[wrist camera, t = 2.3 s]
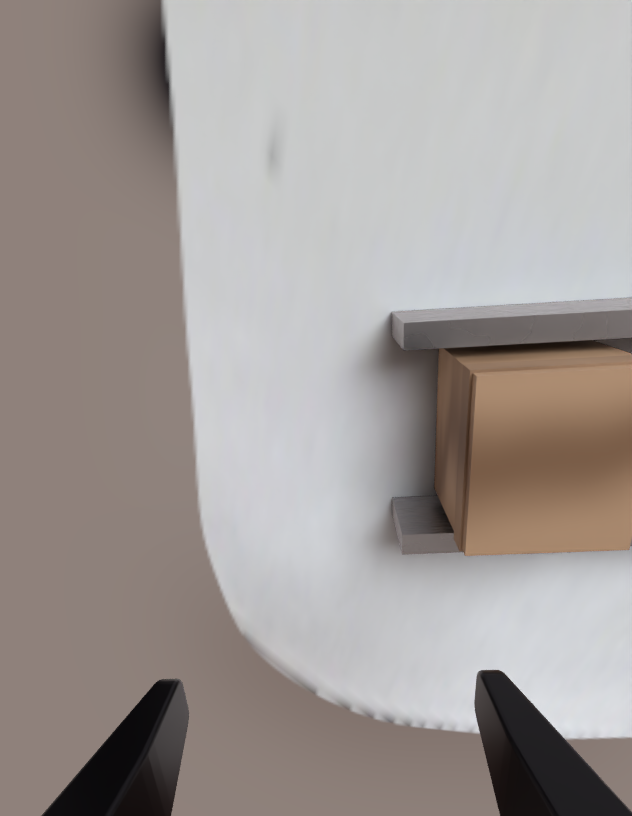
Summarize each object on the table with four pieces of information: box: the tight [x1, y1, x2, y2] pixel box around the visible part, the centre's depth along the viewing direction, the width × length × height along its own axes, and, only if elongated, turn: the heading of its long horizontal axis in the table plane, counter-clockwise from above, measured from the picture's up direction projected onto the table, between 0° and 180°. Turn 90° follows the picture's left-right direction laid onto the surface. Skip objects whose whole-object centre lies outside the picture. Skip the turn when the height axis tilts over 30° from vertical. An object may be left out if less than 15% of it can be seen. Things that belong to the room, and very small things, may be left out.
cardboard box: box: [434, 340, 632, 556], centre depth 18 cm, size 7×6×5 cm
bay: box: [392, 298, 632, 554], centre depth 18 cm, size 10×20×3 cm, turn 93°
